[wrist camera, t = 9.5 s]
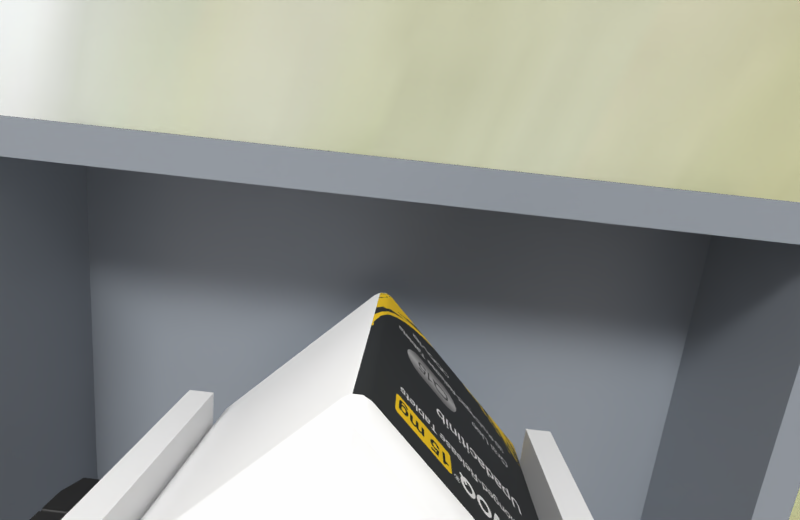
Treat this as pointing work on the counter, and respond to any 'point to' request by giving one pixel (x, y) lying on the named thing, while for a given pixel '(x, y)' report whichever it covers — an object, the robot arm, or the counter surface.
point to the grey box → (413, 292)
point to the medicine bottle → (353, 438)
